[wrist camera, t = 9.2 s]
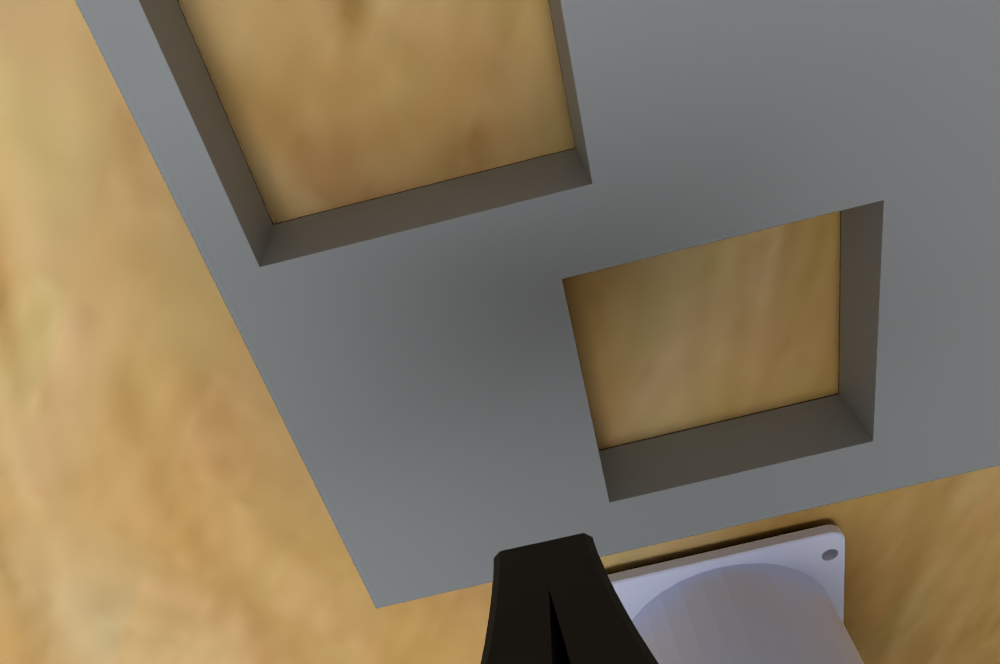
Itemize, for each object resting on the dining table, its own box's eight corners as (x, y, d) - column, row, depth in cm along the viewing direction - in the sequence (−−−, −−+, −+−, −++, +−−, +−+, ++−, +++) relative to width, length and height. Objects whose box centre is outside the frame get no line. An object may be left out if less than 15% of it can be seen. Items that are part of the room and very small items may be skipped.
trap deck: (1394, 316, 23) (1470, 356, 21) (378, 553, 24) (375, 608, 23) (1913, -779, 12) (2153, -869, 10) (11, -239, 13) (-46, -244, 12)
